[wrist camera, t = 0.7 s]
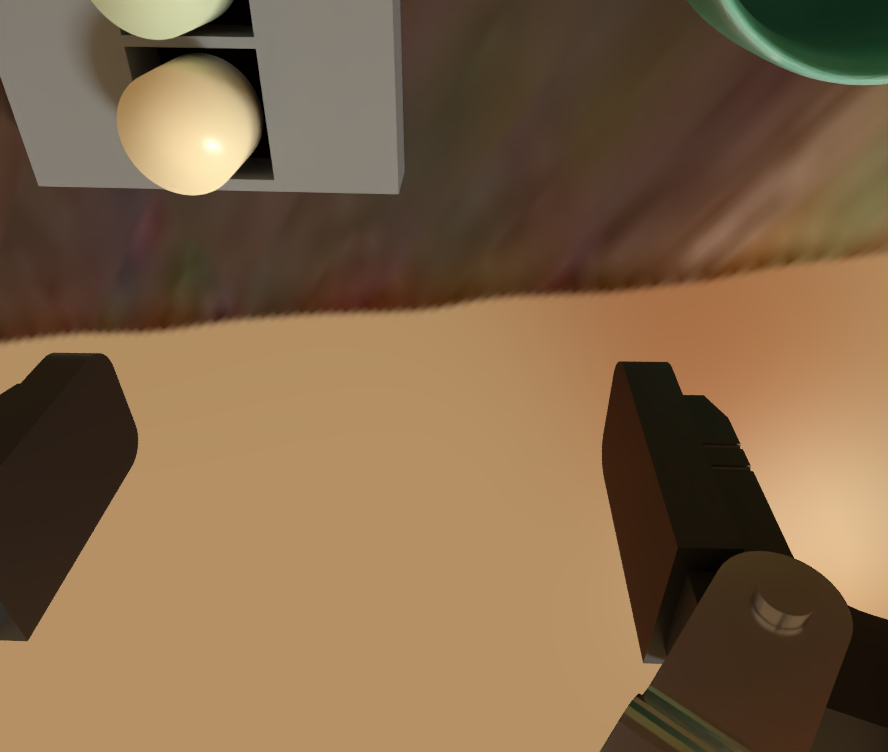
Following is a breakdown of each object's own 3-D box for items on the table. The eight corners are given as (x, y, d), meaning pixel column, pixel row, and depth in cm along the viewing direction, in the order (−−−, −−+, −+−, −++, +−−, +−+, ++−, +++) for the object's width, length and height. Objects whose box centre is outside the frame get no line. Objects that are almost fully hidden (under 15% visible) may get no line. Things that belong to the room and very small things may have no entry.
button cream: (141, 52, 27) (101, 69, 24) (254, 53, 27) (227, 71, 24) (167, 165, 29) (134, 194, 27) (270, 167, 29) (248, 196, 26)
